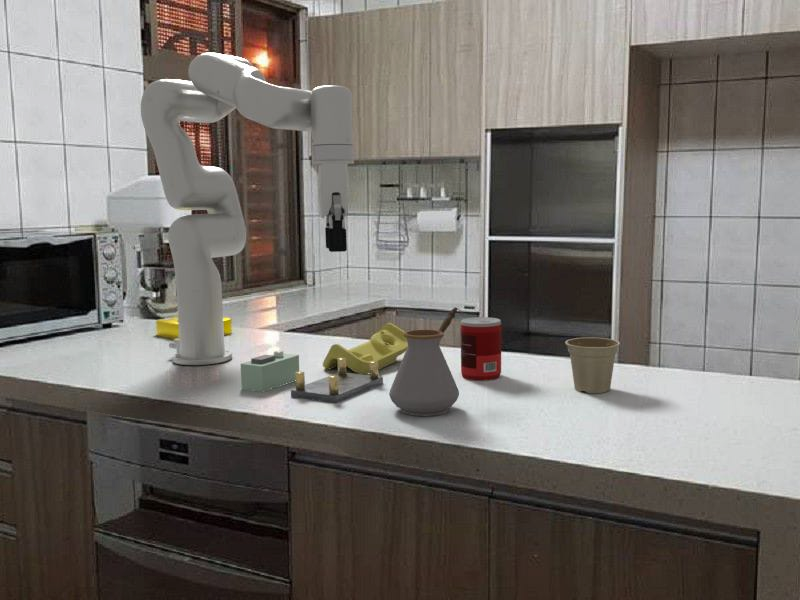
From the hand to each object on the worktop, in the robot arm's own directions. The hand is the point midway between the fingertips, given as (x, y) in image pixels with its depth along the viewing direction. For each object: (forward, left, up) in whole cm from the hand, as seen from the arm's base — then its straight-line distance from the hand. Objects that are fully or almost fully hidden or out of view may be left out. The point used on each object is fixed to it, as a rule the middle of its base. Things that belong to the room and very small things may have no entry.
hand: (336, 249), depth 147 cm
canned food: (+22, +16, -25) cm, 37 cm away
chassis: (+3, -5, -25) cm, 26 cm away
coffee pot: (+23, -5, -25) cm, 35 cm away
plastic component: (-3, +16, -26) cm, 30 cm away
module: (-11, -7, -25) cm, 29 cm away
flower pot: (+44, +15, -25) cm, 53 cm away
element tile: (-65, +28, -26) cm, 75 cm away
